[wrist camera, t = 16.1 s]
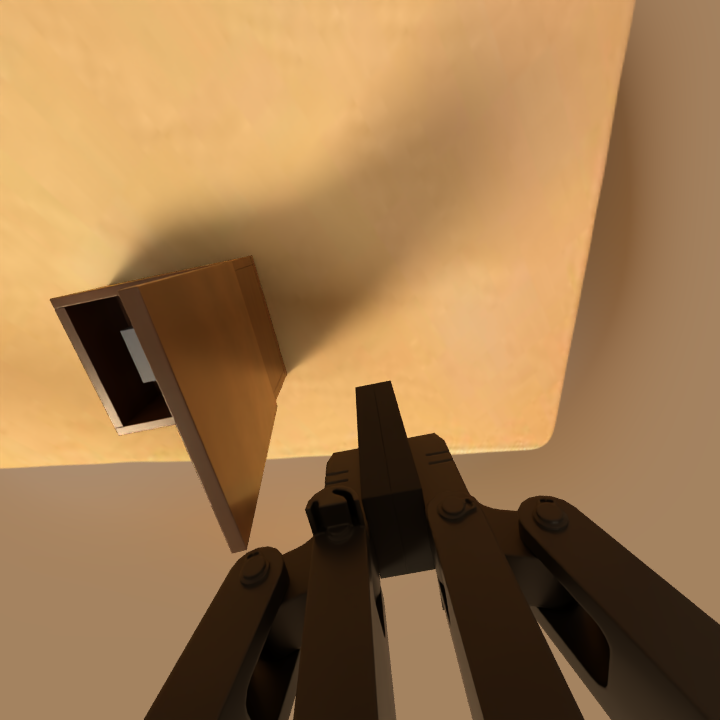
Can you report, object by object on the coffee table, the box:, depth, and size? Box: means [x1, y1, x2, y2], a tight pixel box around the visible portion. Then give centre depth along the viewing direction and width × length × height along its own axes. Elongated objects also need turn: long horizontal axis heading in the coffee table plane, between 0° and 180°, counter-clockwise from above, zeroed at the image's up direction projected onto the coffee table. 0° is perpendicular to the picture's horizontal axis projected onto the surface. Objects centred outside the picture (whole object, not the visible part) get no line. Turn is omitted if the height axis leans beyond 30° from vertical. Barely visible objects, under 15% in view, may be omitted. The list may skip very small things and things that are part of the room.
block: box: [120, 326, 156, 383], centre depth 36 cm, size 6×6×5 cm
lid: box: [117, 261, 277, 553], centre depth 24 cm, size 17×14×1 cm
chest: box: [50, 255, 287, 436], centre depth 36 cm, size 16×14×8 cm
